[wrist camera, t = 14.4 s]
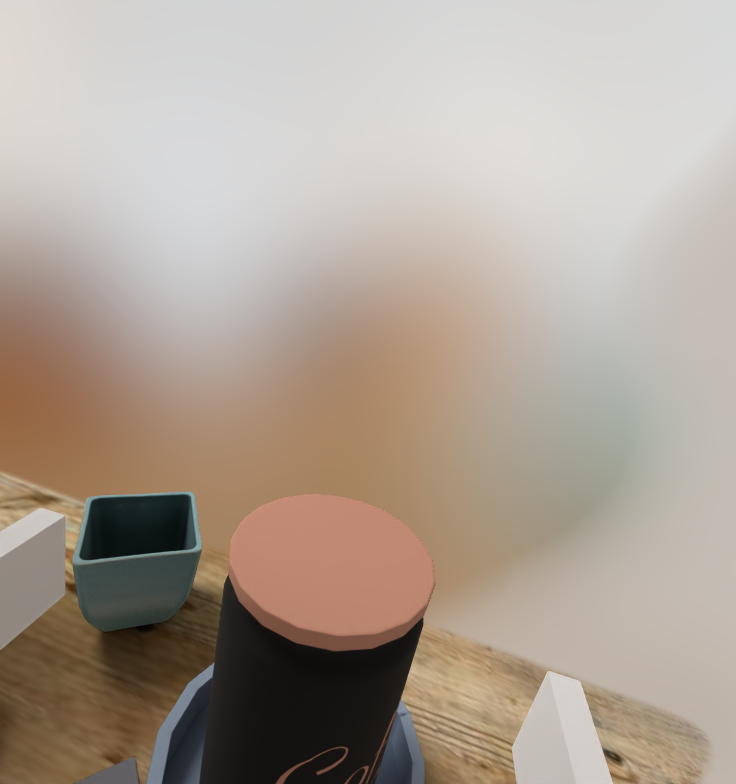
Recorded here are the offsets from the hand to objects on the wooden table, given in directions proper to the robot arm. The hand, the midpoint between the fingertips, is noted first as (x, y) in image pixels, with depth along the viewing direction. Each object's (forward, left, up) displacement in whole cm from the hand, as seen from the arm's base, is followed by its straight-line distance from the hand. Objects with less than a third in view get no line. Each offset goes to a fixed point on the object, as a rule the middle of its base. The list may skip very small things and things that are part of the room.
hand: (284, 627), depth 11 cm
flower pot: (-26, +1, -24) cm, 36 cm away
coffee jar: (-7, +7, -23) cm, 25 cm away
